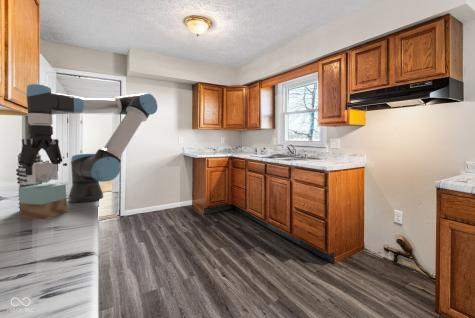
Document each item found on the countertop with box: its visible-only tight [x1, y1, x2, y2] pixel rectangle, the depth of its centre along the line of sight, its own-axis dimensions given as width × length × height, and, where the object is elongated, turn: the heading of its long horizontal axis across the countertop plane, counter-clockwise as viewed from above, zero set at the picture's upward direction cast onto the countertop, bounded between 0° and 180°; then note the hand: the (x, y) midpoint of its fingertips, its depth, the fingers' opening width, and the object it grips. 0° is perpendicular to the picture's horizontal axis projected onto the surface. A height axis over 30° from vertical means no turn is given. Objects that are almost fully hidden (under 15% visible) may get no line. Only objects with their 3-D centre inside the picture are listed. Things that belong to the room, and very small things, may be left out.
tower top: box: [18, 182, 67, 205], centre depth 99 cm, size 10×10×6 cm
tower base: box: [19, 198, 68, 220], centre depth 99 cm, size 10×10×6 cm
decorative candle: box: [15, 152, 43, 212], centre depth 106 cm, size 9×9×25 cm
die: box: [34, 162, 58, 184], centre depth 99 cm, size 8×9×10 cm
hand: (43, 181), depth 99 cm, fingers closed on die, 9 cm apart
